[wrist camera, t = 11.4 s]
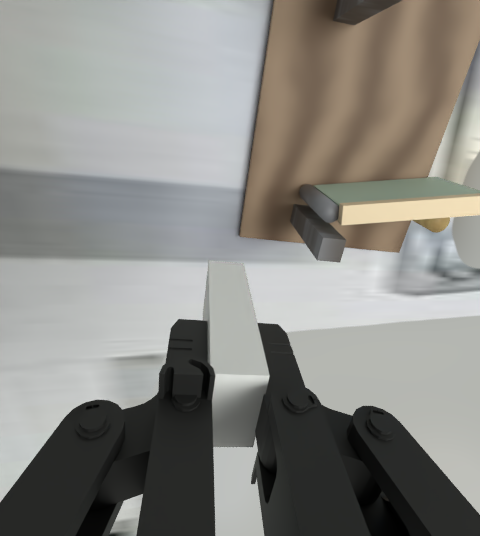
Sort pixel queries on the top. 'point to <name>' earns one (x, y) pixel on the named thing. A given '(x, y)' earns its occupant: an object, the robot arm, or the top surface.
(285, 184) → the gate frame
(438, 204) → the bar
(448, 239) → the top surface
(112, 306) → the top surface
